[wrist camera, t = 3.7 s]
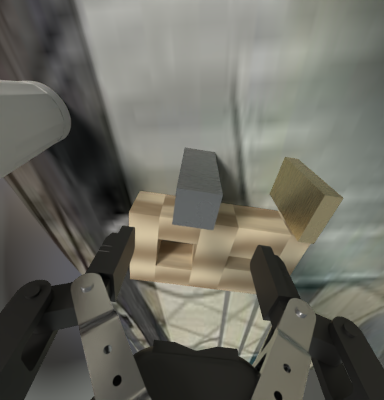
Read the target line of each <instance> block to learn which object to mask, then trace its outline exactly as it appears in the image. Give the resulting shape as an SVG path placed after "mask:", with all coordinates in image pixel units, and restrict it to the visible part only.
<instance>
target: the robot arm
mask: <svg viewBox="0 0 384 400" xmlns="http://www.w3.org/2000/svg"><path fill="white" fill-rule="evenodd" d="M134 249H135V227H129V226H122V227H121V229H120V231H119V233H112V234H110V235H109V236H108V237H106V239H105V240H104V242H103V244H102V246H101V247H100V249H99V251H98V252H97V254H96V256H95V258H94V259H93V261H92V263H91V264H90V266H89V268H88V270H87V271H86V273H85V274H83V275H81V276H79V277H78V278H77V279H75V280H74V282H71V283H67V284H61V285H55V286H51V284H50V283H49V282H48V281H45V280H35V281H32V282H29V283H27V284H26V285H24V286H23V287H21V288H20V289H19V290H18V291H17V292H16V293H15V295H14V296H13V297H12V298H11V300H10V301H9V302H8V304H7V305H6V306H5V308H4V309H3V310H2V311H1V313H0V400H24V399H25V397H26V394H27V392H28V391H29V388H30V387H31V384H32V382H33V380H34V378H35V376H36V374H37V372H38V370H39V368H40V366H41V364H42V362H43V360H44V358H45V356H46V354H47V352H48V350H49V348H50V346H51V344H52V342H53V340H54V338H55V336H56V334H57V332H58V330H59V329H64V328H68V327H72V326H77V325H79V330H80V335H81V340H82V344H83V348H84V353H85V357H86V361H87V366H88V370H89V375H90V379H91V383H92V388H93V392H94V397H93V398H92V399H91V400H302V399H303V394H304V390H305V386H306V381H307V377H308V372H309V368H310V364H311V360H312V363H313V366H314V369H315V371H316V374H317V377H318V380H319V383H320V386H321V389H322V392H323V394H324V397H325V400H384V369H383V367H382V365H381V364H380V362H379V360H378V359H377V357H376V355H375V353H374V352H373V350H372V348H371V347H370V345H369V343H368V342H367V340H366V338H365V336H364V335H363V333H362V332H361V330H360V329H359V328H358V327H357V326H356V325H355V324H354V323H353V322H352V321H350V320H348V319H346V318H344V317H335V318H334V319H333V320H329V319H327V318H325V317H322V316H320V315H318V314H316V313H315V312H314V311H313V309H312V308H311V307H310V305H308V304H307V303H306V302H305V301H303V300H301V299H300V296H299V294H298V292H297V290H296V288H295V285H294V283H293V281H292V279H291V277H290V275H289V272H288V271H287V268H286V266H285V264H284V262H283V261H282V259H281V258H280V257H279V256H278V255H274V252H273V250H272V248H271V247H270V246H265V245H258V246H257V247H256V250H255V252H254V254H253V256H252V259H251V261H250V271H251V275H252V279H253V283H254V286H255V290H256V294H257V298H258V302H259V305H260V309H261V313H262V317H263V320H268V321H271V324H272V326H271V327H270V329H269V332H268V334H267V336H266V338H265V341H264V343H263V345H262V347H261V350H260V352H259V354H258V356H257V358H256V360H255V362H254V363H253V365H251V364H250V363H249V362H247V361H246V360H244V359H243V358H241V357H239V356H238V351H237V349H233V348H224V347H214V348H209V349H204V350H199V351H195V350H192V349H190V348H187V347H185V346H183V345H180V344H178V343H176V342H168V341H159V340H154V344H153V346H152V347H148V348H145V349H143V350H141V351H139V352H137V353H136V354H134V355H133V354H132V351H131V348H130V346H129V343H128V341H127V338H126V335H125V333H124V330H123V328H122V325H121V322H120V320H119V317H118V315H117V313H116V311H114V309H113V307H112V304H111V302H110V301H112V302H116V299H117V297H118V294H119V291H120V288H121V286H122V283H123V280H124V278H125V275H126V272H127V270H128V267H129V264H130V262H131V259H132V256H133V253H134ZM342 362H343V363H342ZM343 364H344V365H343ZM344 366H345V367H344ZM346 371H347V372H346ZM347 373H348V374H347ZM348 375H349V376H348ZM349 377H350V378H349ZM351 382H352V383H351Z"/></svg>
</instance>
